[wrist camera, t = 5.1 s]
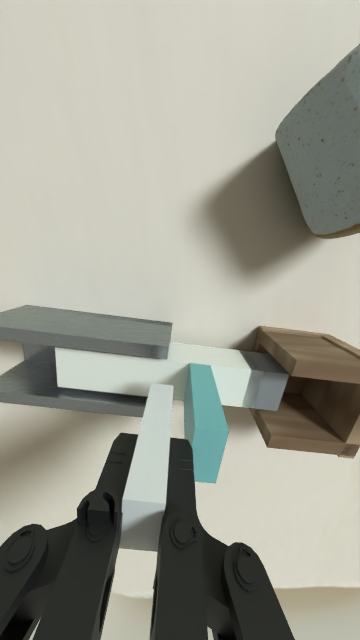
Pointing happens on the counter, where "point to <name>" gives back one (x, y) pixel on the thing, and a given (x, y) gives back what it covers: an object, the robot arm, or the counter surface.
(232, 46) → the counter surface
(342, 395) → the socket
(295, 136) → the ceramic mug
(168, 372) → the rod
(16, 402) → the channel
